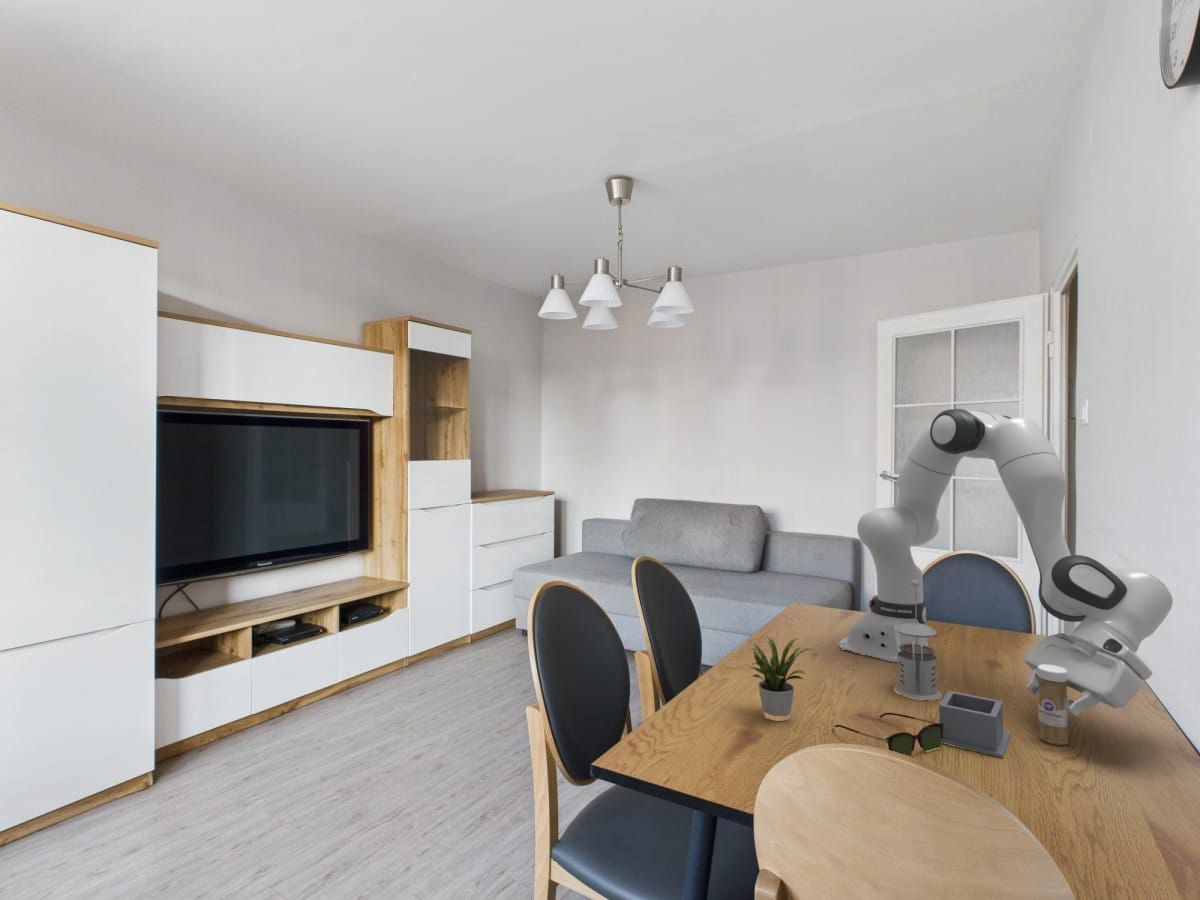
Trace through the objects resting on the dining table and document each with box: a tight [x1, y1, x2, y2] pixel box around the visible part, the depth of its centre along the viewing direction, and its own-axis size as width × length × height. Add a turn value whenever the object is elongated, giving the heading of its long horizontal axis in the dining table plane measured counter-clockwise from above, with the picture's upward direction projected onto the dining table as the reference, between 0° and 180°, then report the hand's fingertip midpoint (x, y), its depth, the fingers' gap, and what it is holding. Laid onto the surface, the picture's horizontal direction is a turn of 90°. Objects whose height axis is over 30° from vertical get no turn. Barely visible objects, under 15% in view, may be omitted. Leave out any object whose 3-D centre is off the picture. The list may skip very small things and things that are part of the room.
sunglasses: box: [833, 712, 944, 756], centre depth 118 cm, size 14×15×5 cm
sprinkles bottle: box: [1037, 664, 1069, 746], centre depth 116 cm, size 5×5×13 cm
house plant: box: [747, 635, 816, 716], centre depth 129 cm, size 14×14×16 cm
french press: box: [894, 580, 943, 700], centre depth 139 cm, size 10×12×25 cm
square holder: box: [938, 690, 1011, 759], centre depth 117 cm, size 11×11×7 cm
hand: (1049, 701), depth 116 cm, fingers open, 8 cm apart
